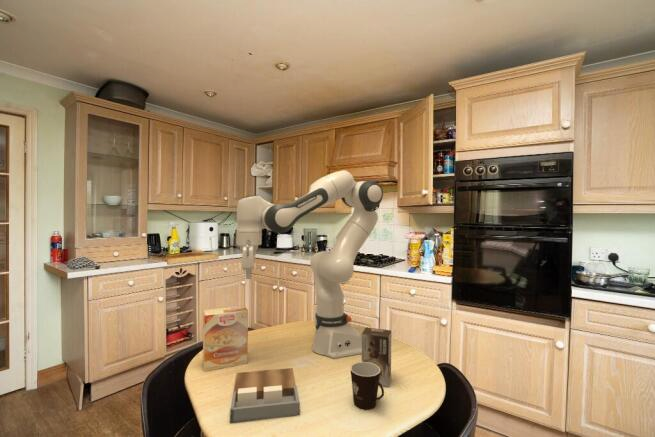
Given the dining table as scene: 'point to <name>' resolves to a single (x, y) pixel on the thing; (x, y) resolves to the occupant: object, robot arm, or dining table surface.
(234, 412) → the tray
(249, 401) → the tile
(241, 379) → the board
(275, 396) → the tile
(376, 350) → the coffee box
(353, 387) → the coffee mug
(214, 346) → the coffeecake box
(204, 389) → the dining table surface
